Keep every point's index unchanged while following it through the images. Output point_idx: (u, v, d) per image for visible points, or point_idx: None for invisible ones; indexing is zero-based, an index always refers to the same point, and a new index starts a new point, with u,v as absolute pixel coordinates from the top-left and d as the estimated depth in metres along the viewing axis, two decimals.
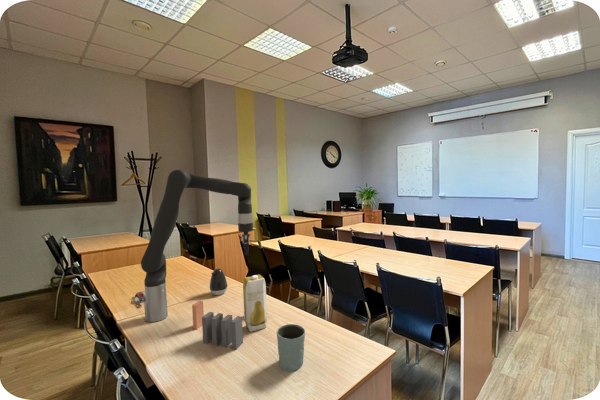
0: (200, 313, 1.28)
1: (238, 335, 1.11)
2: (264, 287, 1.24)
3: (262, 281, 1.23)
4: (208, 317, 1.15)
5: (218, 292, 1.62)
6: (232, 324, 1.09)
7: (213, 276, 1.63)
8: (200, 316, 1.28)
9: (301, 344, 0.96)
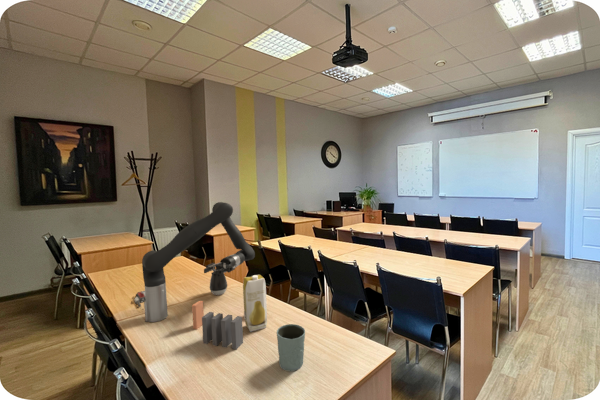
0: (200, 313, 1.28)
1: (238, 335, 1.11)
2: (264, 287, 1.24)
3: (262, 281, 1.23)
4: (208, 317, 1.15)
5: (218, 292, 1.62)
6: (232, 324, 1.09)
7: (213, 276, 1.63)
8: (200, 316, 1.28)
9: (301, 344, 0.96)
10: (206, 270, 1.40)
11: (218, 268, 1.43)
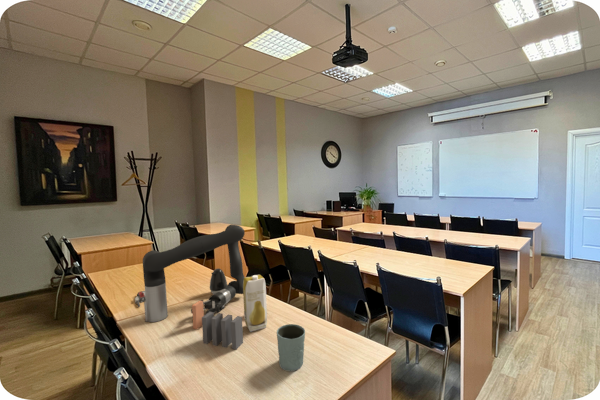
0: (200, 313, 1.28)
1: (238, 335, 1.11)
2: (264, 287, 1.24)
3: (262, 281, 1.23)
4: (208, 317, 1.15)
5: None
6: (232, 324, 1.09)
7: (213, 276, 1.63)
8: (200, 316, 1.28)
9: (301, 344, 0.96)
10: None
11: (207, 307, 1.35)
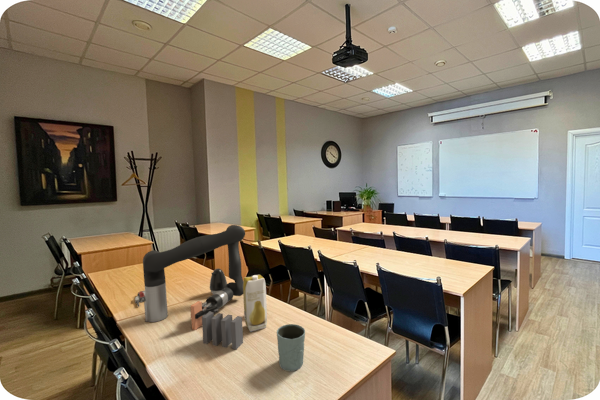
0: None
1: (238, 335, 1.11)
2: (264, 287, 1.24)
3: (262, 281, 1.23)
4: (208, 317, 1.15)
5: None
6: (232, 324, 1.09)
7: (213, 276, 1.63)
8: (199, 317, 1.27)
9: (301, 344, 0.96)
10: None
11: None
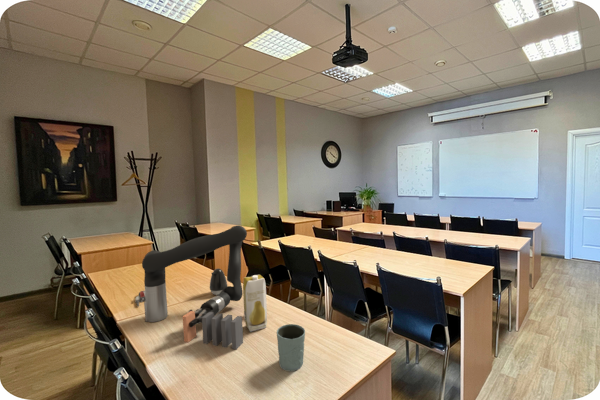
0: None
1: (238, 335, 1.11)
2: (264, 287, 1.24)
3: (262, 281, 1.23)
4: (208, 317, 1.15)
5: (218, 292, 1.62)
6: (232, 324, 1.09)
7: (213, 276, 1.63)
8: (192, 328, 1.18)
9: (301, 344, 0.96)
10: None
11: None
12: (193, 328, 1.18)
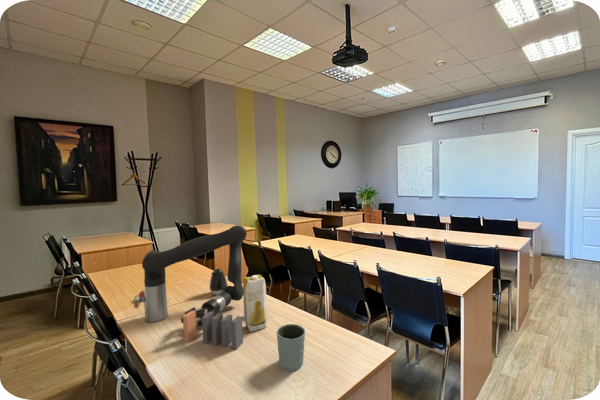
0: (191, 325, 1.17)
1: (238, 335, 1.11)
2: (264, 287, 1.24)
3: (262, 281, 1.23)
4: (208, 317, 1.15)
5: (218, 292, 1.62)
6: (232, 324, 1.09)
7: (213, 276, 1.63)
8: (192, 328, 1.18)
9: (301, 344, 0.96)
10: None
11: (198, 316, 1.24)
12: (193, 328, 1.18)
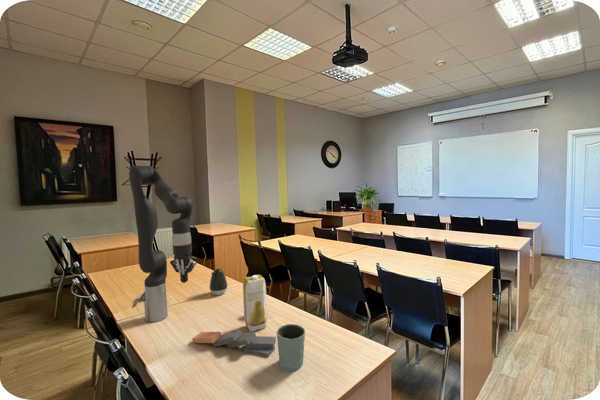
0: None
1: None
2: (264, 287, 1.24)
3: (262, 281, 1.23)
4: None
5: (218, 292, 1.62)
6: (266, 355, 1.04)
7: (213, 276, 1.63)
8: None
9: (301, 344, 0.96)
10: None
11: None
12: None
